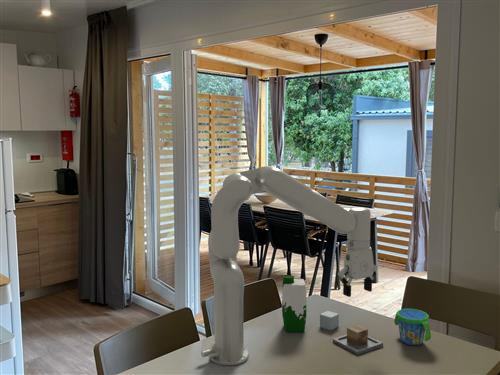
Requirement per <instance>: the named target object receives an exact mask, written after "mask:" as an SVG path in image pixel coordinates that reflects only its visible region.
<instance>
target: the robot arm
mask: <svg viewBox="0 0 500 375" xmlns="http://www.w3.org/2000/svg"><path fill="white" fill-rule="evenodd" d="M264 192H266V193H268V194H269V195H271V196H273V198H276V199H278V200H279V201H282V203H284V204H286V205H287V206H289V207H291V208H293V209H295V210H296V211H298V212H300V213H302V214H304V215H307V216H308V217H311V218H313V219H315V220H317V221H318V222H320V223H321V224H323V225H326V227H328V228H329V229H331V230H333V231H335V232H336V233H338V234H342V235H346V236H347V237H346V239H347V240H346V241H347V242H346V243H345V246H346V248H345V253H344V258H343V268H341V269H340V271H338V273H337V276H338V278H339V281H340V282H341V284H343V285H342V294H343V295H344V296H346V297H348V298H351V297H352V285H351V283H352V282H353V280H362V279H363V290H364V291H367V292H370V293H371V292H372V291H373V280H374V278H375V275H376V271H377V270H378V265H377V264H374V254H373V249H372V247H371V217H372V216H371V215H372V214H371V211H370V210H369V208H367V207H363V206H362V207H359V206H357V207H350V208H349V207H342V206H341V205H339V204H338V203H336V202H334V201H332V200H331V199H329V198H327V197H325V196H324V195H322V194H321V193H320V192H318V191H317V190H315V189H313V188H312V187H310V186H308V185H307V184H305V183H303V182H301V181H300V180H298V179H296V178H294V177H293V176H291V175H290V174H288V173H287V172H286V171H284V170H281V169H280V168H277V167H275V166H271V165H266V166H260V167H257V168H252V169H248V170H243V171H238V172H232V173H231V174H228V175H227V176H226V177H225V179H224V180H223V183H222V187H221V188H220V189H219V190H218V191H217V193H216V194H215V196H214V198H213V201H212V202H211V203H212V204H211V207H210V208H211V210H210V216H211V218H210V221H211V224H210V226H211V227H210V228H211V230H210V233H209V234H208V240H207V246H208V248H207V249H208V259H209V271H210V276H211V278H212V281H213V289H214V290H213V315H214V316H213V322H214V323H213V324H214V343H212V344H211V347H210V348H209V349H205V350H201V352H200V355H201V357H202V358H206V357H208V359H210V360H211V362H213V363H215V364H217V365H220V366H227V367H228V366H236V365H240V364H243V363H244V362H246V361H247V360H248V359H249V357H250V356H249V354H250V353H249V351H248V349H246V348H244V347H245V340H244V338H245V336H244V332H245V331H244V327H245V326H244V293H245V292H244V291H245V278H244V277H245V276H244V273H243V271H242V269H241V267H240V266H239V265H238V258H237V255H238V254H239V251H240V248H241V243H240V242H241V241H240V235H239V234H240V232H239V210H240V208H241V206H242V205H243V203H245V202H246V201H248V200H249V199H250V198H251V196H253V195H257V194H259V193H264Z"/></svg>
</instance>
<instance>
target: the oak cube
mask: <svg viewBox="0 0 500 375" xmlns="http://www.w3.org/2000/svg"><path fill="white" fill-rule="evenodd" d="M346 335H347V342H349V343H351V344H353V345H355V346H357V347H358V346H361V345H364V344H367V343H368V336H369V329H368V328H366V327H364V326H361V325H359V324H355V325H352V326H349V327H346Z"/></svg>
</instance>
